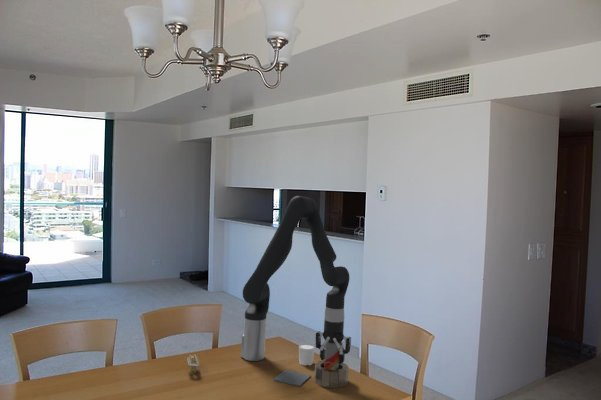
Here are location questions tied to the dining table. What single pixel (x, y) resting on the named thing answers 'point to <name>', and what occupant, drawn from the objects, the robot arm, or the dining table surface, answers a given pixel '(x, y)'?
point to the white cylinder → (306, 354)
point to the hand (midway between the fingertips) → (331, 361)
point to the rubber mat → (292, 377)
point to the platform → (193, 363)
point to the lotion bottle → (331, 354)
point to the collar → (331, 376)
